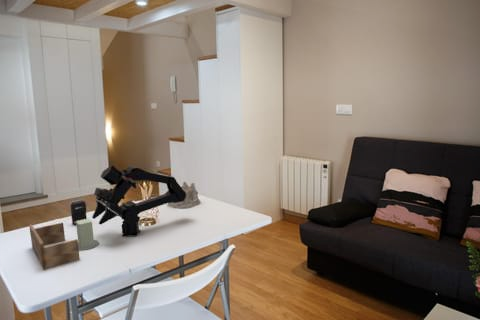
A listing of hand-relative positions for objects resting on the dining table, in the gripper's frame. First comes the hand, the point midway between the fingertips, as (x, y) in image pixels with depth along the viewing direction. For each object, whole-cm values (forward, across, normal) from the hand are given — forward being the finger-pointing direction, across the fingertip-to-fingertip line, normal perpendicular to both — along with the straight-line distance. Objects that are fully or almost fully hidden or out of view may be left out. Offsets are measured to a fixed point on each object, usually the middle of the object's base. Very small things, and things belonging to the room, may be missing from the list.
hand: (96, 221), depth 155 cm
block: (+10, 0, +3) cm, 10 cm away
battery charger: (+7, -30, +7) cm, 31 cm away
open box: (+19, 0, -5) cm, 19 cm away
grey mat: (+10, 0, +3) cm, 11 cm away
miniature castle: (-31, -23, +46) cm, 60 cm away
